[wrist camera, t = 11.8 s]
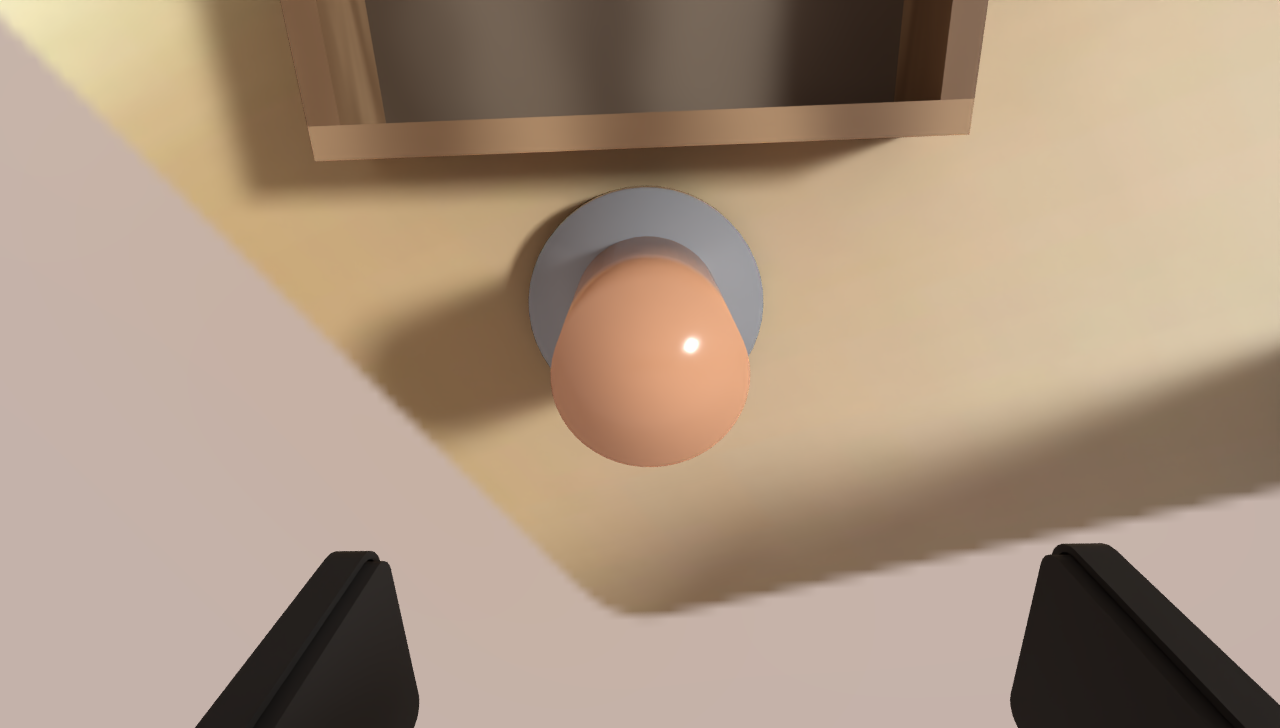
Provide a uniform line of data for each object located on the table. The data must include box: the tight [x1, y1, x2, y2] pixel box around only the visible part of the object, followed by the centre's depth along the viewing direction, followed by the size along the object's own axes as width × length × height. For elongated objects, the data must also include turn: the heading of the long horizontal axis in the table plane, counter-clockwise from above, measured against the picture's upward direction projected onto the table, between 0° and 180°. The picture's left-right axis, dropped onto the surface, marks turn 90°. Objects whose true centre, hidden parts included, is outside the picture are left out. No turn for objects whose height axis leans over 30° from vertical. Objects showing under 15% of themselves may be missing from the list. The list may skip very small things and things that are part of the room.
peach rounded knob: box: [551, 236, 750, 467], centre depth 21 cm, size 6×6×7 cm
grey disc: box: [529, 186, 763, 368], centre depth 25 cm, size 9×9×1 cm
